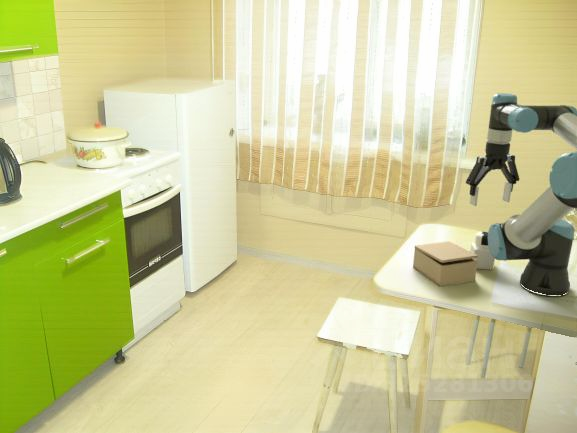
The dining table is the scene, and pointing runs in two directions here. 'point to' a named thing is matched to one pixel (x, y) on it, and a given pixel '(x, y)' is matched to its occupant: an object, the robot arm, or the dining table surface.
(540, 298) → the dining table surface
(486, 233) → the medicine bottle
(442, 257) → the lid
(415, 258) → the box
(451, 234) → the dining table surface
